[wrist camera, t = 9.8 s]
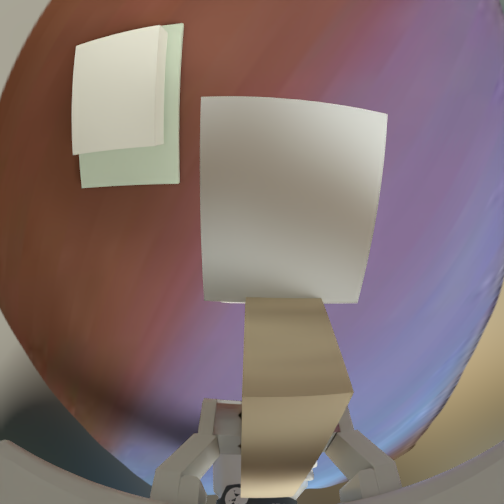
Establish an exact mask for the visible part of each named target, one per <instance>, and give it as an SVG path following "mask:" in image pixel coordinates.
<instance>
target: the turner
mask: <svg viewBox="0 0 504 504" xmlns="http://www.w3.org/2000/svg"><path fill="white" fill-rule="evenodd" d="M386 130H387V114H384V113H380V112H375V111H370V110H365V109H360V108H355V107H349V106H343V105H336V104H329V103H322V102H314V101H305V100H295V99H283V98H268V97H238V96H219V97H201V119H200V214H201V246H202V269H203V288H204V301H222V302H245V329H244V357H243V387H242V434H241V498H277V497H293V496H294V494H295V493H296V492H297V490H298V489H299V487H300V486H301V484H302V483H303V481H304V480H305V478H306V477H307V475H308V474H309V472H310V471H311V469H312V468H313V466H314V464H315V463H316V461H317V460H318V458H319V456H320V455H321V453H322V451H323V450H324V448H325V446H326V444H327V443H328V441H329V439H330V437H331V436H332V434H333V432H334V430H335V428H336V426H337V425H338V423H339V421H340V419H341V417H342V415H343V413H344V411H345V409H346V407H347V405H348V403H349V401H350V399H351V397H352V395H353V393H354V392H353V389H352V385H351V382H350V379H349V376H348V373H347V370H346V367H345V364H344V361H343V358H342V355H341V352H340V349H339V346H338V343H337V340H336V338H335V335H334V332H333V329H332V326H331V323H330V321H329V318H328V315H327V312H326V309H325V307H324V304H323V303H357V302H358V298H359V294H360V290H361V286H362V282H363V278H364V274H365V270H366V265H367V261H368V256H369V251H370V247H371V241H372V236H373V231H374V226H375V220H376V214H377V208H378V201H379V195H380V188H381V180H382V172H383V163H384V154H385V143H386Z"/></svg>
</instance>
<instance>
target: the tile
mask: <svg viewBox="0 0 504 504" xmlns="http://www.w3.org/2000/svg"><path fill="white" fill-rule="evenodd" d="M167 38H168V32H166V31H165V30H164V29H163V28H162V27H161V26H160V25H157V26H151V27H145V28H140V29H135V30H131V31H126V32H122V33H118V34H114V35H110V36H107V37H103V38H100V39H96V40H93V41H90V42H87V43H83V44H80V45H78V46H76V52H75V61H74V72H73V86H72V149H73V155H77V154H84V153H91V152H99V151H107V150H115V149H125V148H136V147H149V146H157V145H162V144H164V87H165V66H166V51H167Z"/></svg>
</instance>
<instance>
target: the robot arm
mask: <svg viewBox="0 0 504 504" xmlns="http://www.w3.org/2000/svg"><path fill="white" fill-rule="evenodd" d="M241 434H242V401H235V400H219V399H207V398H204V400H203V403H202V409H201V416H200V422H199V429H198V433H194V434H193V435H192V436H191V437H190V438H189V439H188V440H187V441H186V442H185V443H184V444H182V445H181V446H180V447H179V448H178V449H177V450H176V451H175V452H174V453H173V454H172V455H171V456H170V457H169V458H168V459H166V460H165V461H164V462H163V463H162V464H161V465H160V466H159V467H158V468H157V469H156V471H155V476H154V481H153V485H152V490H151V496H150V499H149V498H144V497H141V496H137V495H133V494H129V493H126V492H122V491H119V490H116V489H113V488H110V487H107V486H103V485H101V484H98V483H95V482H92V481H89V480H87V479H84V478H82V477H79V476H77V475H75V474H72V473H70V472H67V471H65V470H63V469H61V468H59V467H57V466H54V465H52V464H50V463H48V462H46V461H44V460H43V459H41V458H38V457H37V456H35V455H33V454H31V453H30V452H28V451H26V450H24V449H23V448H21V447H19V446H17V445H16V444H14V443H13V442H11V441H8V440H3V441H0V504H206V500H207V494H206V492H205V490H204V487H203V485H202V483H201V481H200V479H201V478H202V476H203V475H204V474H205V473H206V472H207V470H208V469H209V468H210V467H211V466H212V464H213V489H214V492H215V493H216V495H218V496H219V499H218V500H217V502H216V504H297V501H296V499H297V497H298V496H299V495H300V494H301V493H302V492H303V490H304V489H305V488H306V487H307V486H308V481H309V480H313V479H314V474H313V470H312V469H311V471H310V472H309V474H308V475H307V477H306V478H305V480H304V481H303V483H302V484H301V486H300V487H299V489H298V490H297V492H296V493H295V494H294V496H293V497H277V498H241ZM322 452H325V453H326V455H327V456H328V457H329V458H330V459H331V460H332V461H333V463H334V464H335V465H336V466H337V467H338V468H339V469H340V471H341V472H342V473H343V474H344V475H345V476H346V477H347V478H348V479H349V480H350V481H349V482H348V483H347V484H346V485H345V486H343V487H342V488H341V489H340V490H339V493H340V501H341V503H340V504H504V440H503V441H501V442H500V443H499V444H497V445H495V446H493V447H492V448H490V449H488V450H487V451H485V452H483V453H482V454H480V455H478V456H476V457H474V458H473V459H470V460H468V461H466V462H464V463H462V464H460V465H458V466H456V467H454V468H452V469H450V470H448V471H445V472H443V473H441V474H438V475H436V476H434V477H431V478H429V479H426V480H423V481H421V482H418V483H415V484H412V485H410V486H407V487H404V488H402V485H401V481H400V478H399V474H398V471H397V467H396V463H395V461H394V460H392V459H391V458H390V457H389V456H388V455H386V454H385V453H384V452H383V451H382V450H380V449H379V448H378V447H377V446H376V445H374V444H373V443H372V442H371V441H370V440H369V439H367V438H366V437H365V436H364V435H363V434H362V433H360V432H359V431H358V430H354V428H353V424H352V420H351V417H350V413H349V409H348V405H347V407H346V409H345V411H344V413H343V415H342V417H341V419H340V421H339V423H338V425H337V426H336V428H335V430H334V432H333V434H332V436H331V437H330V439H329V441H328V443H327V444H326V446H325V448H324V450H323V451H322ZM316 466H317V461H316V463H315V464H314V466H313V468H314V467H316Z"/></svg>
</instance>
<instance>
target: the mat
mask: <svg viewBox="0 0 504 504" xmlns="http://www.w3.org/2000/svg"><path fill="white" fill-rule="evenodd" d="M161 27H162V28H163V29H164V30H165V31H166V32H168V38H167V51H166V66H165V87H164V144H162V145H157V146H149V147H136V148H125V149H115V150H107V151H99V152H91V153H84V154H79V162H80V175H81V185H82V188H91V187H106V186H123V185H146V184H179V183H180V171H179V104H180V75H181V57H182V42H183V30H184V24H183V23H180V24H172V25H165V26H161Z"/></svg>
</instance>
